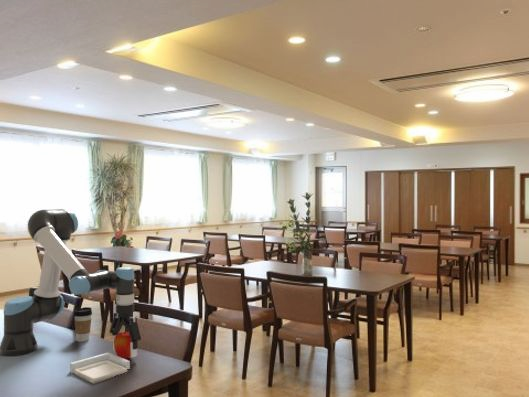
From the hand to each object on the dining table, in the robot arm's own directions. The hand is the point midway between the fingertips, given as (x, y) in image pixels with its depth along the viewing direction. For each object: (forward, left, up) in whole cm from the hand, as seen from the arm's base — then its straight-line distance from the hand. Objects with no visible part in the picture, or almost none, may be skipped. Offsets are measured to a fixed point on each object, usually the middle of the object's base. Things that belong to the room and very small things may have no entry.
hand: (124, 353), depth 198 cm
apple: (0, 0, -2) cm, 2 cm away
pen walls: (+5, -15, -2) cm, 16 cm away
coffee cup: (-38, +1, -2) cm, 38 cm away
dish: (+8, -16, -2) cm, 18 cm away
